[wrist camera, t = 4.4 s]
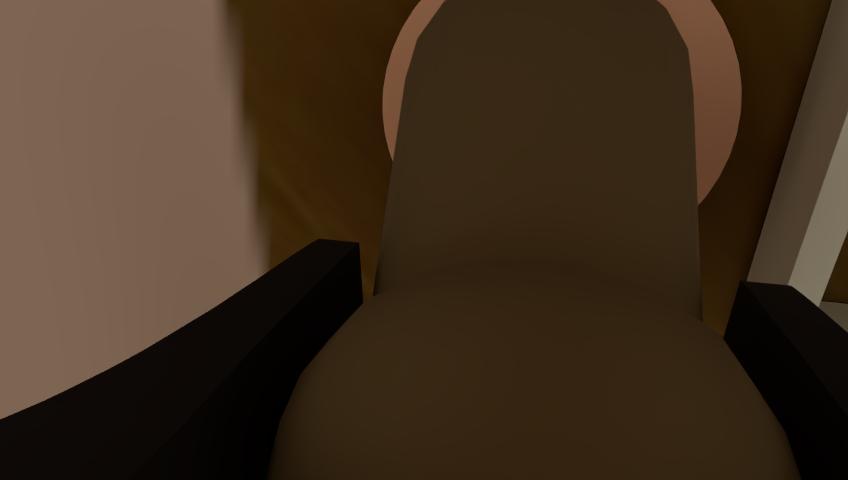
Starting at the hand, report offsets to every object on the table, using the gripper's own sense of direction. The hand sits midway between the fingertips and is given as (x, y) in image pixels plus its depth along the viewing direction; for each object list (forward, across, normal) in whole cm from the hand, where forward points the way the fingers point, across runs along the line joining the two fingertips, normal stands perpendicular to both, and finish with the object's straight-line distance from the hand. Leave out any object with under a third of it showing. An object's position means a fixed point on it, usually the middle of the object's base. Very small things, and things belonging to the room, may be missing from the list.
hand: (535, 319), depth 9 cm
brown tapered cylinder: (+6, 0, -1) cm, 6 cm away
